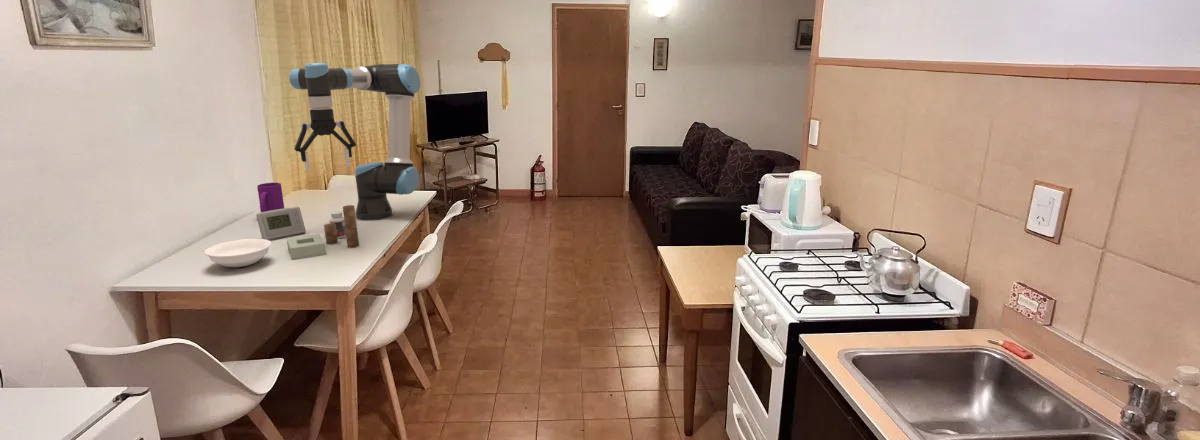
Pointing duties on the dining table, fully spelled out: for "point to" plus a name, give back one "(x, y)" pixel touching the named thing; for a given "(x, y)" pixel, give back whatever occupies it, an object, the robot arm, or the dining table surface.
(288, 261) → the dining table surface
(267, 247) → the bowl
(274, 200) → the mug
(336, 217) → the pill bottle
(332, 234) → the short dowel
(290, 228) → the digital clock
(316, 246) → the hole board
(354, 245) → the long dowel
